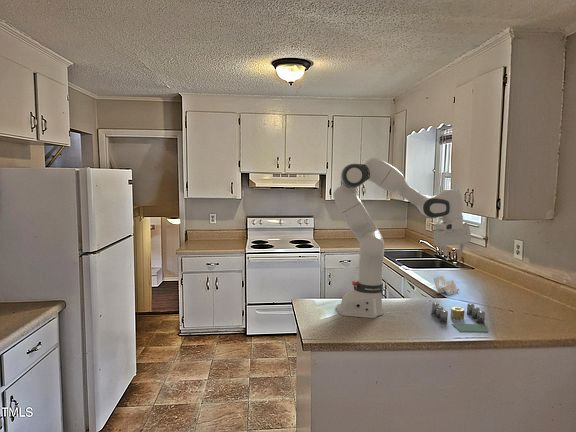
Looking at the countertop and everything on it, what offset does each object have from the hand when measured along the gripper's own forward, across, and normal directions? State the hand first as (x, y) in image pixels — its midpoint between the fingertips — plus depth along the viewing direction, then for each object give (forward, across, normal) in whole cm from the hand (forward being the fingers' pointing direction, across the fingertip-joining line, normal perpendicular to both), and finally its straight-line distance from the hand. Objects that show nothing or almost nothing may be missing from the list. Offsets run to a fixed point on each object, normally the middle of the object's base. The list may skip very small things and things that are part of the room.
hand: (453, 253), depth 182 cm
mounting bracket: (+30, -27, -30) cm, 50 cm away
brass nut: (+30, 0, +2) cm, 30 cm away
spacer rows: (+30, 0, +2) cm, 30 cm away
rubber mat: (+30, +5, +13) cm, 33 cm away
